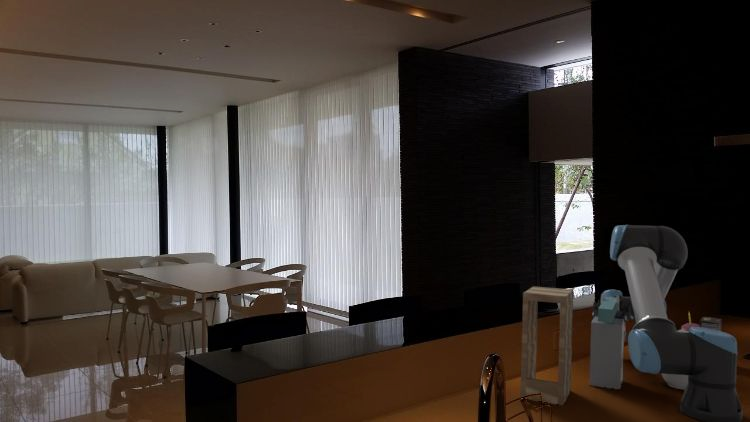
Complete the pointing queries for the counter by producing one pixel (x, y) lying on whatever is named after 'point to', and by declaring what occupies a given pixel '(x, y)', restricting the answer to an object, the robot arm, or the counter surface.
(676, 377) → the lidded bowl
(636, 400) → the counter surface
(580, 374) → the counter surface
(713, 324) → the coffee box
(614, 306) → the teal block
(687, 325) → the cupcake
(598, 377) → the stone block
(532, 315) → the wooden stool frame
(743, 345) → the counter surface
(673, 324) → the robot arm
